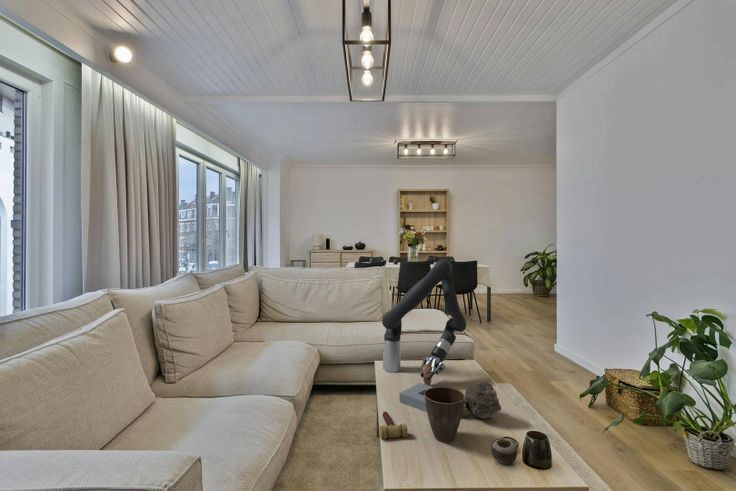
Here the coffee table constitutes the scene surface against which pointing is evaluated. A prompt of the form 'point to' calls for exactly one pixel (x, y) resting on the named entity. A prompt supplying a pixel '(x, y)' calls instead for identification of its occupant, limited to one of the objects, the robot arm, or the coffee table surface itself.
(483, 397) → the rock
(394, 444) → the coffee table surface
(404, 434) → the gavel
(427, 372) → the cherry peg
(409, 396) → the slate socket board
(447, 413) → the plant pot
